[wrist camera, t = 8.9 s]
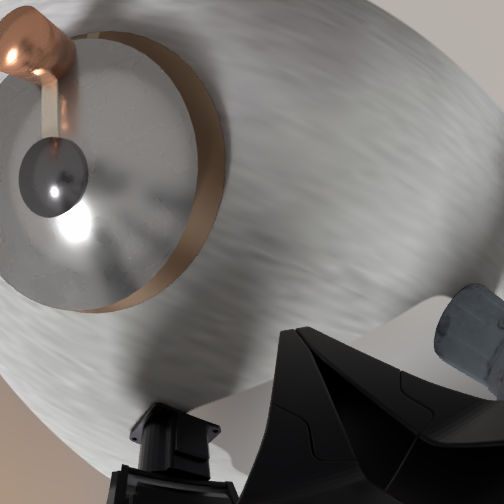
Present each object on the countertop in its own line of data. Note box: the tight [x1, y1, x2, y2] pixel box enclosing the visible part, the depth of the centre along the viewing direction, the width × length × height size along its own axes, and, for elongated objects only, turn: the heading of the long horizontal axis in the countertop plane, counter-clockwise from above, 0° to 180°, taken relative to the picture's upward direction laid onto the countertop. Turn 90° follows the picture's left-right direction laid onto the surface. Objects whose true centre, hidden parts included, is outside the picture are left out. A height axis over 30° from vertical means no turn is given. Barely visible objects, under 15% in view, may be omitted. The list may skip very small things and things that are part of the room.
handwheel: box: [0, 6, 198, 311], centre depth 11 cm, size 16×15×7 cm
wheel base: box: [71, 31, 225, 313], centre depth 15 cm, size 18×18×1 cm
